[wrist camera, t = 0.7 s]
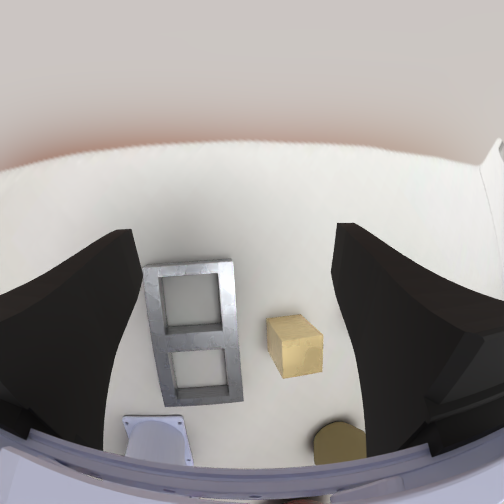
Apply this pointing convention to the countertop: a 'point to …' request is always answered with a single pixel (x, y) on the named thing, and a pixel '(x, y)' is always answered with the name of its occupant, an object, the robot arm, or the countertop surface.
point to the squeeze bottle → (339, 444)
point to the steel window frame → (194, 334)
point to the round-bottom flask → (303, 502)
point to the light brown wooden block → (294, 345)
